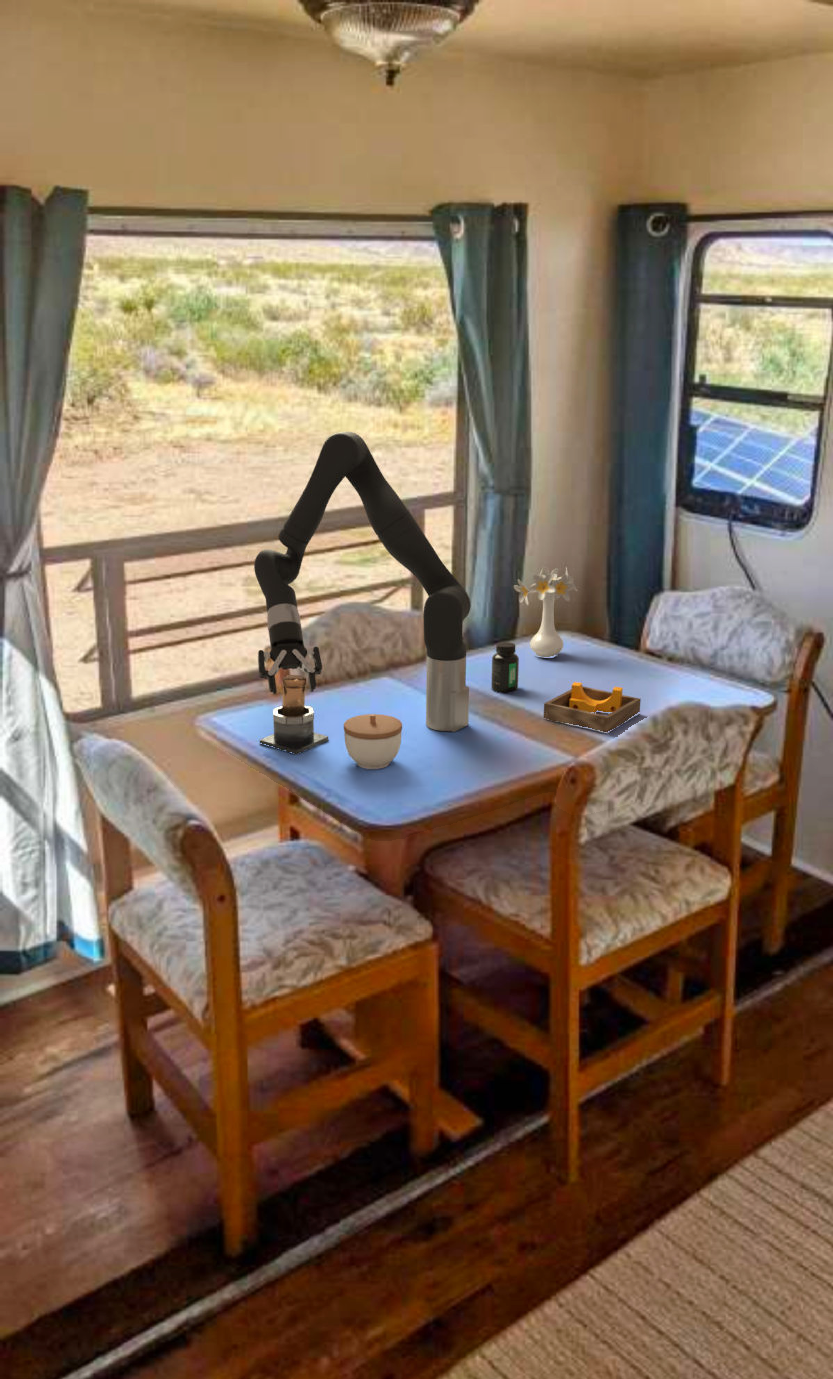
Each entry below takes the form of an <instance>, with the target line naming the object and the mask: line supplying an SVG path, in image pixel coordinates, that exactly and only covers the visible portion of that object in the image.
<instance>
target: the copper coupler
mask: <svg viewBox="0 0 833 1379" xmlns="http://www.w3.org/2000/svg"><path fill="white" fill-rule="evenodd" d="M281 685H282V700H281V701H282V702H281V706H282V715H283V716H287V717H292V716H302V715H304V706H306V705H305V702H306V699H305V698H306V686H307V678H306V677H305V676H302V675H300V674H288V675H285V676H283V677H282V679H281Z"/></svg>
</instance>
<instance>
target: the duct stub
mask: <svg viewBox="0 0 833 1379" xmlns="http://www.w3.org/2000/svg"><path fill="white" fill-rule="evenodd" d="M314 712H315V711H314V707H312V706H309V705H305V706H304V715H302V716H292V717H287V716H283V715H282V705H281V706H278V707H275V708H273V709H272V717H273V718H272V720H273V733H272V734H270V735H268V736H265V737H262V738H261V739H259V744H260V743H262V744H266V745H269V746H273V747H275V748H279V749H281V750H280V751H282V750H286V751H287V752H286V753H289V752H292V753H294V754H293V755H295V754H297V755H299V754H301V753H303V751H304V752H305V750H306V751H308V750H310V749H312V748H314V747H318V746H320V745H321V744H324V743H326V742H329V736H328V735H325V734H322V733H318V732H315V725H314V723H315V722H314V721H315V720H314V719H315V713H314ZM262 744H261V745H262ZM275 748H274V749H275ZM300 752H301V753H300ZM292 753H291V754H292ZM298 753H299V754H298Z"/></svg>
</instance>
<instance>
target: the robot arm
mask: <svg viewBox="0 0 833 1379" xmlns="http://www.w3.org/2000/svg"><path fill="white" fill-rule="evenodd" d="M345 478H346V479H347V480H348V482H349V483H350V485H351V486H352V488H354V490H355V491H356V493H357V494H358V496H359V498H360V500H361V502H362V505H363V508H364V510H365V514H366V517H367V519H368V521H369V523H370V525H371V528H372V529H373V531H374V533H375V535H376V536H377V538H378V539H379V541H380V542H381V544H382V545H383V546H384V548H385V550H386V551H387V552H388V553H389V555H391V556H392V557H393V558H394V559H395V560H396V561H397V562H398V563H399V564H401V565H402V566H403V567H404V568H406V570H408V571H409V572H410V573H411V574H412V575H413V576H414V577H415V578H416V579H417V580H418V581H419V583H420V585H421V586H422V587H423V590H424V591H425V593H426V594H427V598H426V600H425V603H424V607H423V618H422V619H423V641H424V642H423V643H424V646H425V648H426V676H425V677H426V681H425V682H426V684H425V685H426V690H425V692H426V693H425V694H426V696H425V699H426V701H425V708H426V709H425V725H426V727H427V728H430V729H431V730H434V731H438V732H439V731H441V732H453V733H454V732H457V731H459V730H461V729H462V728H463V729H464V727H467V726H469V720H470V718H469V716H470V715H469V713H470V712H469V711H470V687H469V686H467V685H466V682H467V681H466V680H467V678H466V676H467V675H466V674H467V673H466V672H467V644H466V642H465V641H464V639H463V637H464V636H463V634H464V633H463V621H464V620H465V619H466V618H467V617H468V615H469V614H470V611H471V599H470V596H469V594H468V592H467V591H466V590H465V588H464V587H463V585H462V584H460V582H459V581H458V580H457V579H456V577H455V576H454V574H452V573H451V571H450V570H449V569H448V568H447V566H446V565H445V563H443V561H442V560H441V558H440V557H439V555H438V553H437V552H436V551H435V550H436V549H434V547H433V545H432V544H431V543H430V541H429V539H428V538H427V537H426V535H425V534H424V532H423V530H422V529H421V527H420V525H419V524H418V522H417V521H416V519H415V518H414V516H413V514H412V513H411V512H410V510H409V509H408V508H407V506H406V505H405V504H404V502H403V501H402V500H401V498H400V497H399V495H398V493H396V491H395V490H394V488H393V487H392V485H390V483H389V482H388V481H387V479H386V478H385V475H384V474H383V472H382V471H381V469H380V468H379V465H378V464H377V462H376V460H375V458H374V456H373V454H372V453H371V451H370V449H369V447H368V444H366V441H365V440H364V439H363V438H362V437H361V436H360V435H359V434H357V433H355V432H352V431H340V432H335V433H333V434H331V435H329V436H328V437H327V438H326V439H325V440H324V442H323V444H322V447H321V449H320V451H319V455H318V457H317V460H316V463H315V464H314V468H313V471H312V473H311V474H310V476H309V479H308V481H307V483H306V485H305V488H304V490H303V491H302V493H301V495H300V497H299V499H298V500H297V502H296V503H295V506H293V508H292V509H291V510H292V511H291V512H290V514H289V516H288V517H287V519H286V520H285V523H284V524H283V526H282V527H281V529H280V531H279V533H278V540H279V542H280V543H281V544H282V546H284V547H286V552H285V553H283V552H282V553H281V552H279V551H277V550H273V549H269V548H268V549H263V550H261V551H260V552H258V553H257V555H256V557H255V559H254V565H253V566H254V567H253V569H254V570H253V571H254V574H255V578H256V580H257V582H258V585H259V587H260V589H261V592H262V594H263V595H264V599H265V604H266V613H267V617H266V618H267V631H268V636H269V644H270V651H264V650H263V649H260V650H258V653H257V663H258V664H257V665H258V666H257V667H258V677H259V679H267V681H268V682H267V683H268V691H269V692H270V693H272V695H277V690H278V689H277V684H276V683H277V682H276V675H277V674H278V673H279V670H280V669H282V670H284V671H285V670H290V669H291V670H297V669H298V668H299V669H300V670H301V672H304V673H305V674H306V676H307V679H308V680H307V682H308V688H309V692H310V693H312V692H314V690H315V689H316V688H317V679H316V676H317V675H321V674H322V670H323V664H322V659H321V654H320V650H319V647H318V646H314V647H313V648H309V649H308V648H306V646H305V644H304V635H303V629H302V622H301V617H300V613H299V609H298V602H297V595H296V592H295V590H294V588H293V587H292V586H290V584H292V583H293V582H294V581H295V580H296V579H297V578H298V576H299V573H300V570H301V567H302V563H303V559H304V556H305V553H306V548H307V546H308V544H309V543H310V541H311V539H312V538H313V537H314V535H315V534H316V532H317V529H318V528H319V525H320V524H321V522H322V519H323V517H324V514H325V512H326V509H327V506H328V504H329V502H330V500H331V497H332V495H333V494H334V493H335V491H336V489H337V488H338V486H339V485H340V483H342V481H343V480H344V479H345ZM307 656H309V658H310V659H312V660H313V664H314V667H313V666H312V665H311V664H310V662H309V660H307V659H306V657H307ZM268 659H271V660H272V662H273V663H272V666H271V668H270V669H269V670H266V665H265V664H266V662H267V661H268Z"/></svg>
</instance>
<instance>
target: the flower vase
mask: <svg viewBox="0 0 833 1379" xmlns="http://www.w3.org/2000/svg"><path fill="white" fill-rule="evenodd" d="M559 572H560V568H559V567H557V568H554V569H553V570H552V571H551V572H550V570H549V568H548V567H547V566H542V568H541V570H540V572H539V574H537V573H535V574H533V576H532V579H533V581H534V583H533V584H531V585H530V586H529V587H527V586H526V585H525V584H523V582H522V581H521V579H517V583H518V585H517V584H515V585H513V589H514V590H515V591H516V592H518V593H520V594H519V595H518V602H519V603H520V604H522V603H524V601H525V604H526V605H527V606H529V604H530V603H529V597H530V596H529V595H530V594H532V593H537V598H538V600H539V601H542V615H541V616H542V617H541V624H540V627H539V629H538V631H537V633H536V634H534V635H533V636H532V638H531V640H530V643H529V646H530V649H531V650H532V651H533V653H536V655H538V656H541V657H550V656H554V655H556V654H557V655H558V654H559V653H560V652H561V651H562V650H563V648H564V642H563V639H562V637H561V636H560V635H559V633H557V631H556V627H555V621H554V613H555V612H554V610H555V608H554V607H555V606H554V605H555V601H558V600H559V599H560V598H561V597H562V598H563V599H564V600H565V601H566V602H570V601H571V596H570V593H569V592H570V591H572V590H574V591H575V592H579V591H578V589H577V587H576V584H575V583H574V581H575V580H574V578H573V576H572V575H569V570H568V567H567V566H566V567H565V573H564V574H562V575H561V576H559V577H558V574H559ZM536 655H535V656H536Z"/></svg>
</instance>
